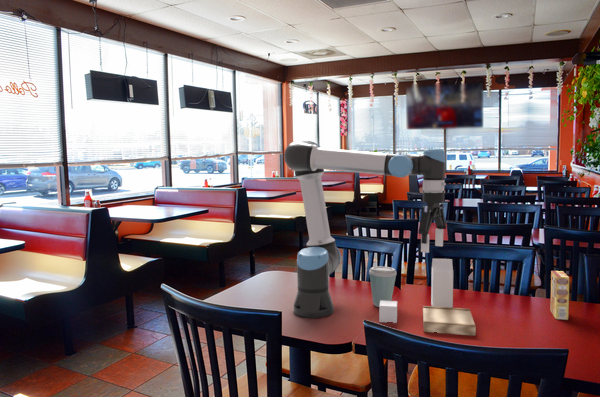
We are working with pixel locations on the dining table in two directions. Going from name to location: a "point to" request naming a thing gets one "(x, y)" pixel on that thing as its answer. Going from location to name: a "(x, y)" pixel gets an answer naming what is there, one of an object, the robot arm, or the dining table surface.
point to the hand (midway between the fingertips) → (432, 249)
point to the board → (448, 320)
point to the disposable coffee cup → (382, 283)
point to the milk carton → (442, 283)
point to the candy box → (559, 295)
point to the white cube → (388, 311)
